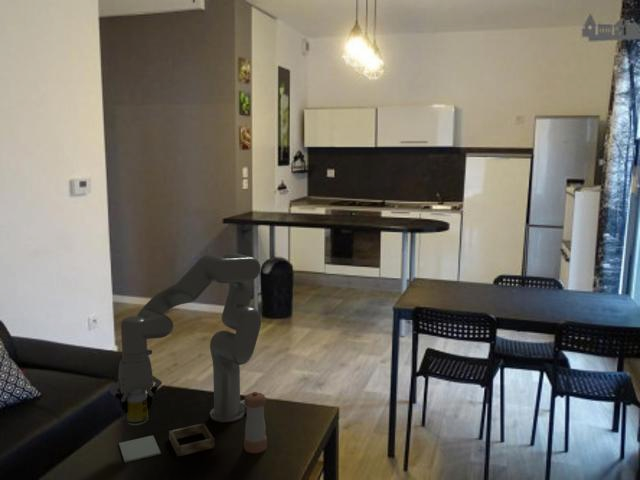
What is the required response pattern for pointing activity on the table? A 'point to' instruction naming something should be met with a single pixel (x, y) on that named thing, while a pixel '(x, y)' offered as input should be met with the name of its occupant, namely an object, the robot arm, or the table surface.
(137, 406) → the pill bottle
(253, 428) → the pepper shaker
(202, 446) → the oak cradle
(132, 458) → the ceramic tile
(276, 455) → the table surface
